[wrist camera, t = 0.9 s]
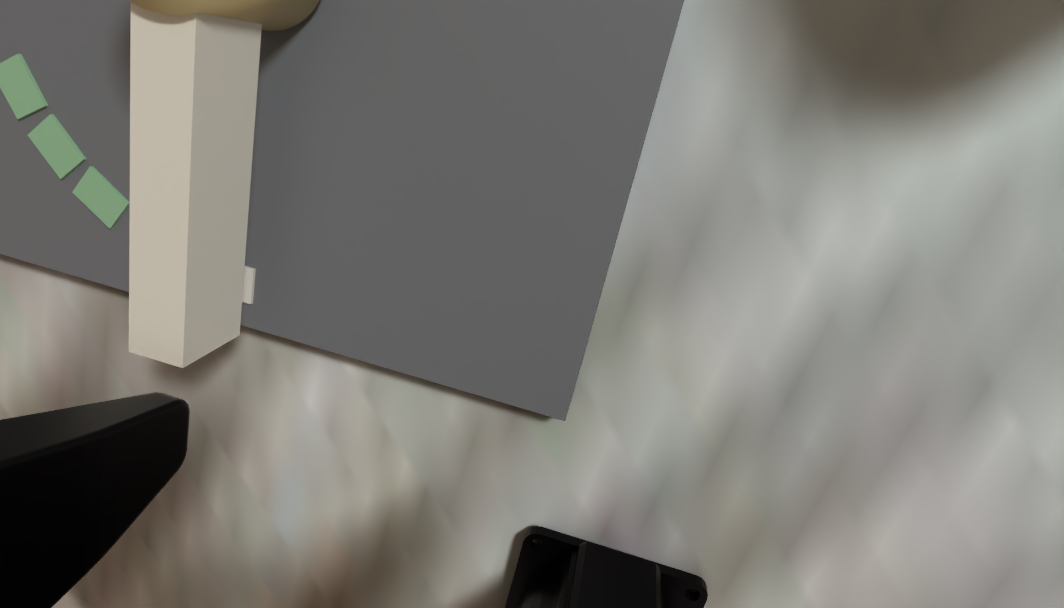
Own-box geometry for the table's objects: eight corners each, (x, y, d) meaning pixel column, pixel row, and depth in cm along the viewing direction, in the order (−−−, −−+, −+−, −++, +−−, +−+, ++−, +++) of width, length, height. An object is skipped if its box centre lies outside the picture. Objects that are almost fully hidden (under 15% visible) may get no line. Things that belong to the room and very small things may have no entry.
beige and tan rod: (206, -134, 16) (74, -202, 13) (335, -105, 16) (240, -166, 12) (188, 300, 21) (86, 346, 17) (290, 330, 20) (209, 383, 17)
